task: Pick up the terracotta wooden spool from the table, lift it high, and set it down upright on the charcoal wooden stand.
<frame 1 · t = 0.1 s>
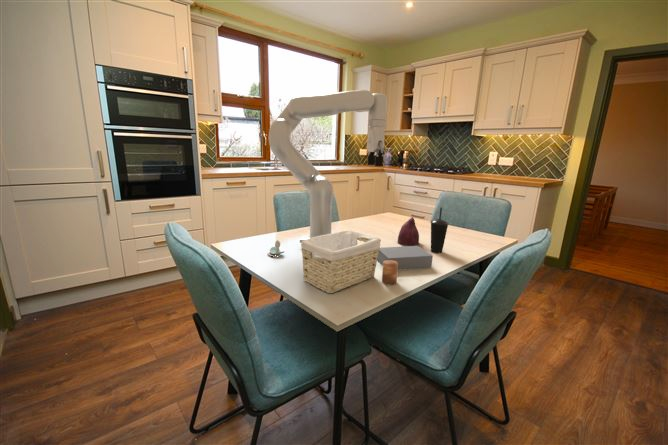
hand: (374, 165, 136), 37 cm above the table, tool pointing down, fingers open, 9 cm apart
pacifier: (275, 255, 129), on the table
storage basket: (340, 279, 107), on the table
spool: (389, 281, 106), on the table
vegetable: (407, 243, 149), on the table
drinking cup: (436, 252, 137), on the table
stand: (403, 263, 122), on the table
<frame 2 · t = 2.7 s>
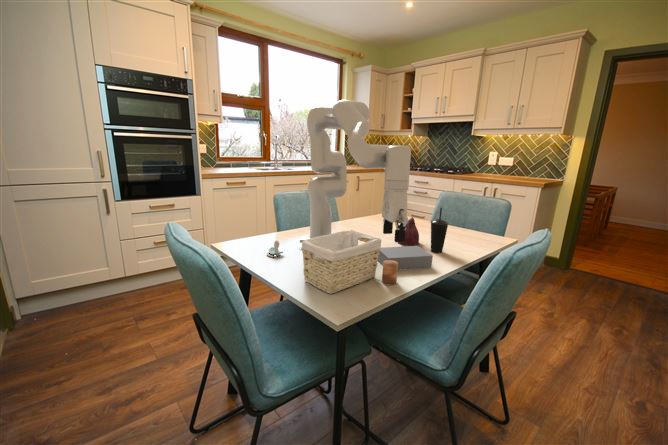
hand: (393, 237, 101), 16 cm above the table, tool pointing down, fingers open, 9 cm apart
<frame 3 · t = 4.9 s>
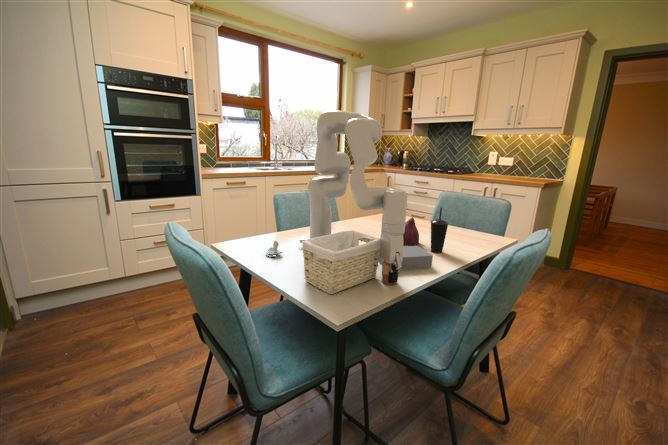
hand: (389, 278, 105), 1 cm above the table, tool pointing down, fingers closed on spool, 5 cm apart
spool: (389, 281, 106), on the table, touching gripper
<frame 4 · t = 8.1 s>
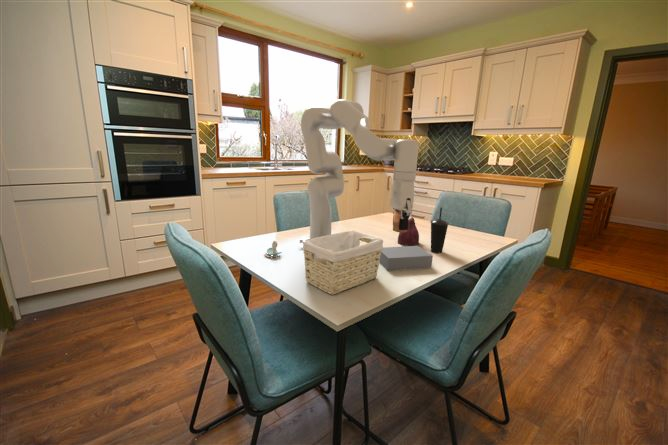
hand: (400, 227, 110), 17 cm above the table, tool pointing down, fingers closed on spool, 5 cm apart
spool: (399, 230, 110), point 16 cm above the table, touching gripper
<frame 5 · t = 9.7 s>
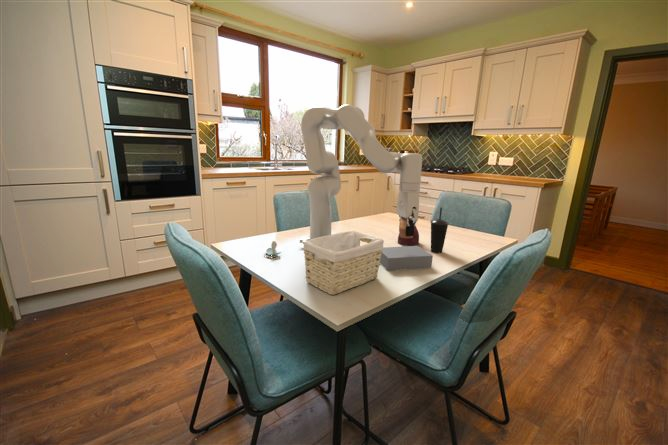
hand: (406, 233, 119), 13 cm above the table, tool pointing down, fingers closed on spool, 5 cm apart
spool: (406, 236, 119), point 11 cm above the table, touching gripper
when the fingers open (8 cm above the table, at t = 11.3 s): spool drops 2 cm, resting on stand.
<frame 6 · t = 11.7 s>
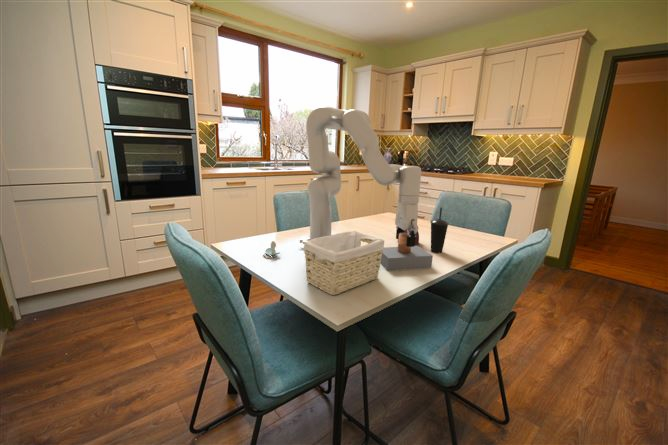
hand: (404, 242, 120), 9 cm above the table, tool pointing down, fingers open, 9 cm apart
spool: (404, 251, 121), point 5 cm above the table, touching stand
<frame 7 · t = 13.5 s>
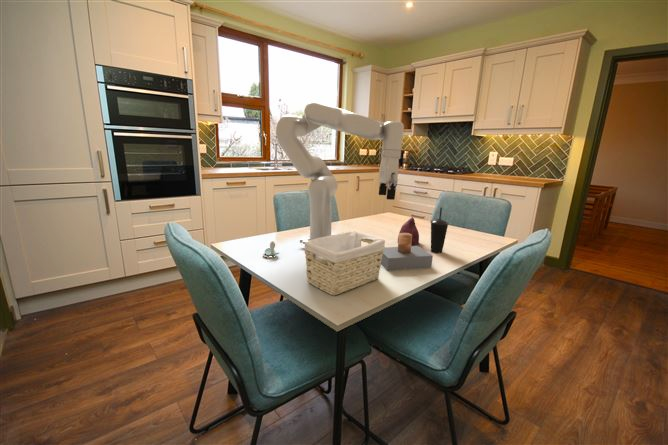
hand: (386, 197, 126), 25 cm above the table, tool pointing down, fingers open, 9 cm apart
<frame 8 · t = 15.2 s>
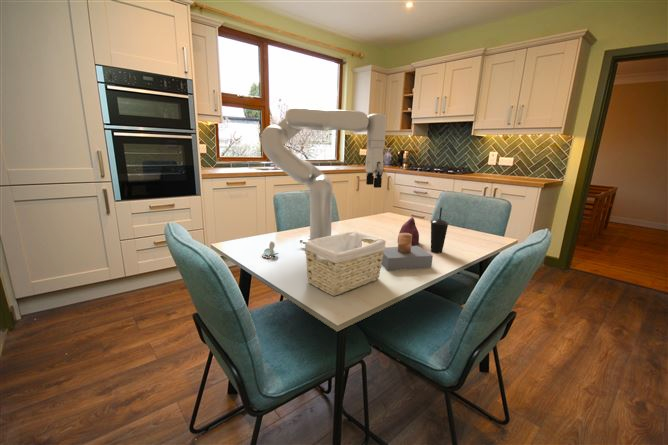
hand: (373, 185, 133), 28 cm above the table, tool pointing down, fingers open, 9 cm apart
at the end: spool inside the target area on the stand (0.0 cm from its centre), point 5.0 cm above the stand's base; spool tilted 0°; the gripper is holding nothing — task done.
